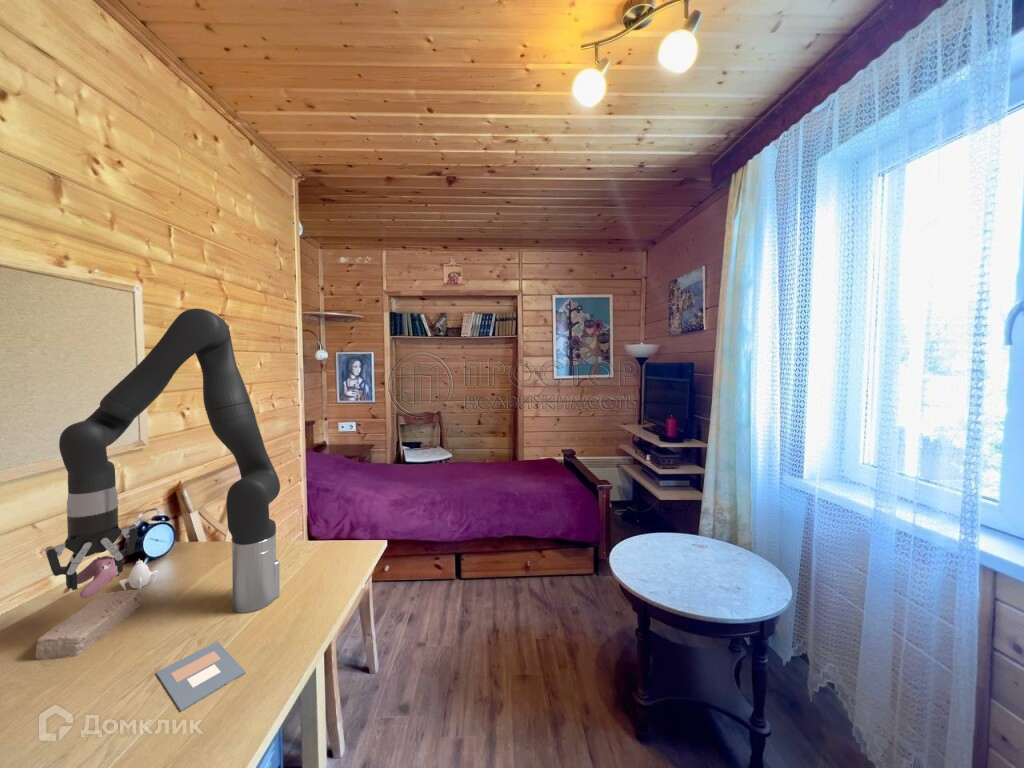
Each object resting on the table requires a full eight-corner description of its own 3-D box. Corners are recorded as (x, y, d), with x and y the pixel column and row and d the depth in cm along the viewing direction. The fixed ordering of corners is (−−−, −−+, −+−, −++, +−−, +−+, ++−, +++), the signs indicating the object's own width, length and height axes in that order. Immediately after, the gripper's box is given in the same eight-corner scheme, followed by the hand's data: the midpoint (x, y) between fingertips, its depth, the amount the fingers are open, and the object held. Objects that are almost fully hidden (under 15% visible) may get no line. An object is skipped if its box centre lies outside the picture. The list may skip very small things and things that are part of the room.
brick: (81, 657, 77) (80, 635, 77) (31, 662, 76) (31, 639, 75) (143, 606, 93) (143, 588, 93) (104, 609, 92) (103, 590, 92)
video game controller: (106, 599, 82) (125, 565, 84) (78, 599, 78) (98, 564, 80) (96, 583, 87) (115, 551, 89) (69, 583, 84) (89, 550, 86)
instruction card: (217, 642, 82) (217, 641, 82) (245, 673, 74) (245, 671, 74) (156, 673, 73) (156, 671, 73) (180, 711, 66) (180, 709, 66)
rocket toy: (139, 581, 103) (139, 553, 103) (159, 581, 103) (159, 553, 103) (119, 593, 98) (118, 563, 97) (140, 593, 98) (139, 564, 97)
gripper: (133, 495, 91) (135, 562, 92) (38, 514, 79) (42, 591, 80) (142, 503, 87) (144, 573, 88) (44, 524, 75) (47, 605, 76)
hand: (95, 581), depth 84 cm, fingers closed on video game controller, 5 cm apart
